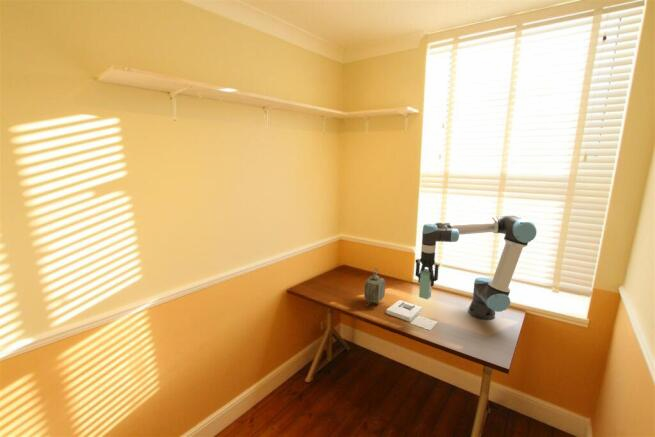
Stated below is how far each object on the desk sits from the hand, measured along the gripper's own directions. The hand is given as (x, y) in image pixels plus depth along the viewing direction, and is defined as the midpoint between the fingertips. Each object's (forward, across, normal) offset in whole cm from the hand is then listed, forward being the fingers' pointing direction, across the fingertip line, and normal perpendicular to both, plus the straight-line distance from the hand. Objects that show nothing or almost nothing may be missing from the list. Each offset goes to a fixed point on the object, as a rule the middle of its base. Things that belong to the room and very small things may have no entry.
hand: (425, 289), depth 183 cm
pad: (+21, -1, 0) cm, 21 cm away
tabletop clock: (+21, +34, -1) cm, 40 cm away
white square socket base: (+21, +14, -4) cm, 25 cm away
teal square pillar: (+4, 0, 0) cm, 4 cm away
